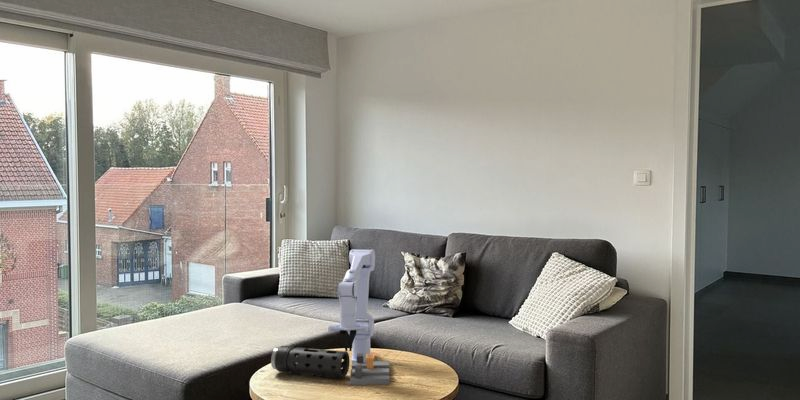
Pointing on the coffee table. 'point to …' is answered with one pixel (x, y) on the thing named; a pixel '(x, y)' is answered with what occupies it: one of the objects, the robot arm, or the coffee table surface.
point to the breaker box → (369, 372)
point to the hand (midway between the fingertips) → (348, 350)
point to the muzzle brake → (310, 361)
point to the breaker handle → (370, 361)
